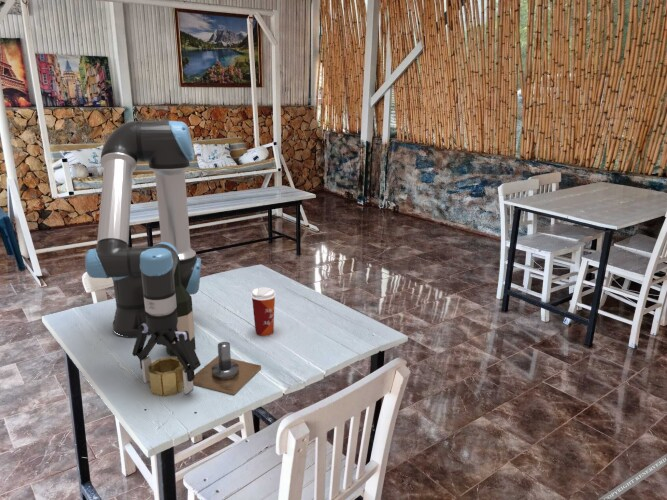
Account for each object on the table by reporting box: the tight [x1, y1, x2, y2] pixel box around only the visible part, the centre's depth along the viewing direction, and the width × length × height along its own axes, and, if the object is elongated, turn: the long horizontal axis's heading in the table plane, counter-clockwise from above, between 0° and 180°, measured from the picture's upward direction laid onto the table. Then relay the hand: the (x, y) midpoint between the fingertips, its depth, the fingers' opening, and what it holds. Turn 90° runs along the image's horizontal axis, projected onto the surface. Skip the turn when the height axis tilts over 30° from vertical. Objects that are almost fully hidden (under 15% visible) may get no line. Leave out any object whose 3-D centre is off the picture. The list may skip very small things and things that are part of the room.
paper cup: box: [250, 287, 277, 337], centre depth 165 cm, size 8×8×14 cm
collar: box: [148, 356, 184, 397], centre depth 137 cm, size 9×9×6 cm
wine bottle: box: [165, 256, 197, 357], centre depth 151 cm, size 8×8×30 cm
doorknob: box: [193, 341, 262, 396], centre depth 141 cm, size 14×14×10 cm
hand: (168, 385), depth 137 cm, fingers open, 12 cm apart
